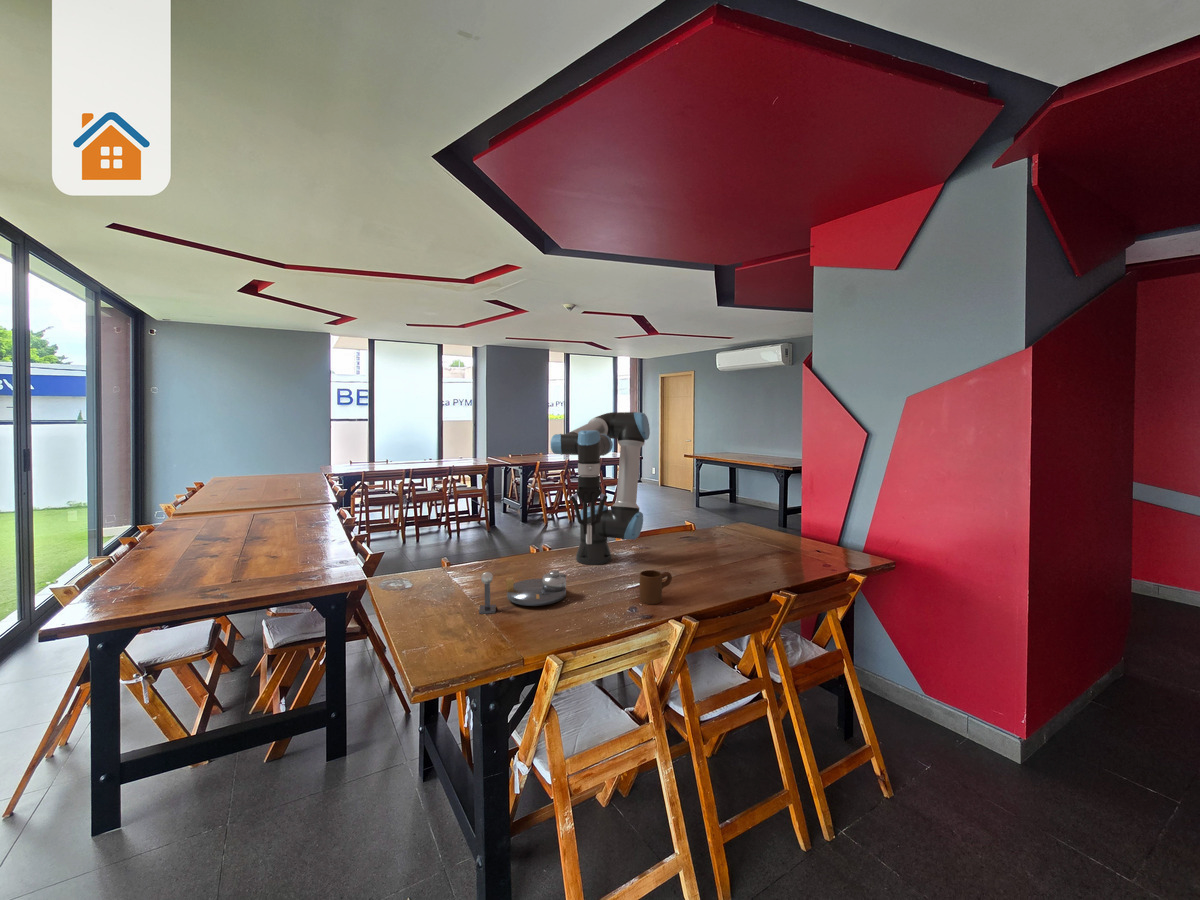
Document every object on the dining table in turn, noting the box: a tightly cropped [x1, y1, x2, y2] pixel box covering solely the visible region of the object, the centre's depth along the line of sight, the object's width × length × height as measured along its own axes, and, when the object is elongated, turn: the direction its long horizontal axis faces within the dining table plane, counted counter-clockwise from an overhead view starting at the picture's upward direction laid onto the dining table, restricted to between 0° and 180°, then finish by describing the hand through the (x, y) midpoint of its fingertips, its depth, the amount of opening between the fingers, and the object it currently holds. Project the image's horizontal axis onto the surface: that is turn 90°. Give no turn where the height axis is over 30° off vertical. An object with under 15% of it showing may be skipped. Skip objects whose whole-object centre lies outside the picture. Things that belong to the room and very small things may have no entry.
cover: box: [542, 570, 567, 592], centre depth 168 cm, size 8×8×6 cm
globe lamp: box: [478, 571, 497, 615], centre depth 157 cm, size 5×5×13 cm
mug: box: [638, 569, 673, 605], centre depth 166 cm, size 12×8×9 cm, turn 114°
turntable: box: [505, 576, 567, 607], centre depth 168 cm, size 20×20×6 cm
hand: (588, 543), depth 170 cm, fingers closed
